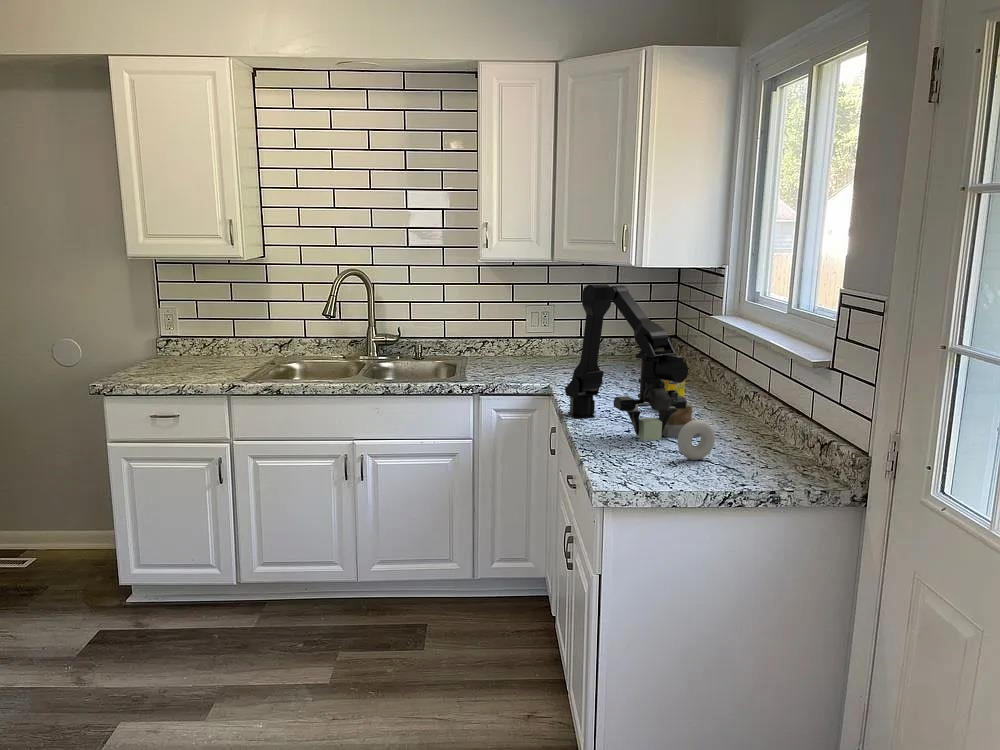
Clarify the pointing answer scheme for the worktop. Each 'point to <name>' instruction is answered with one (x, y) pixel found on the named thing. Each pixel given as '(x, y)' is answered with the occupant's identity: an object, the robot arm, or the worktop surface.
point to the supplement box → (675, 386)
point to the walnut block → (681, 416)
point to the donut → (705, 442)
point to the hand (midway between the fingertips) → (648, 433)
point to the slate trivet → (673, 429)
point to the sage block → (650, 429)
